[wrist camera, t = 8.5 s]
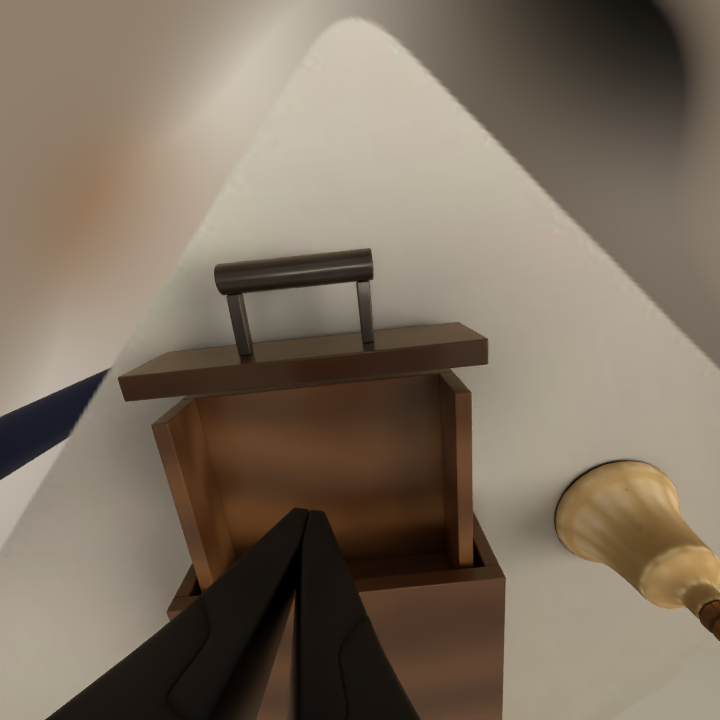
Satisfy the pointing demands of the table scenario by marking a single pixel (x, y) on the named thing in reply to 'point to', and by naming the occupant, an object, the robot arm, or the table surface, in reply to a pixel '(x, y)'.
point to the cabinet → (420, 637)
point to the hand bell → (641, 537)
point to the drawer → (320, 430)
